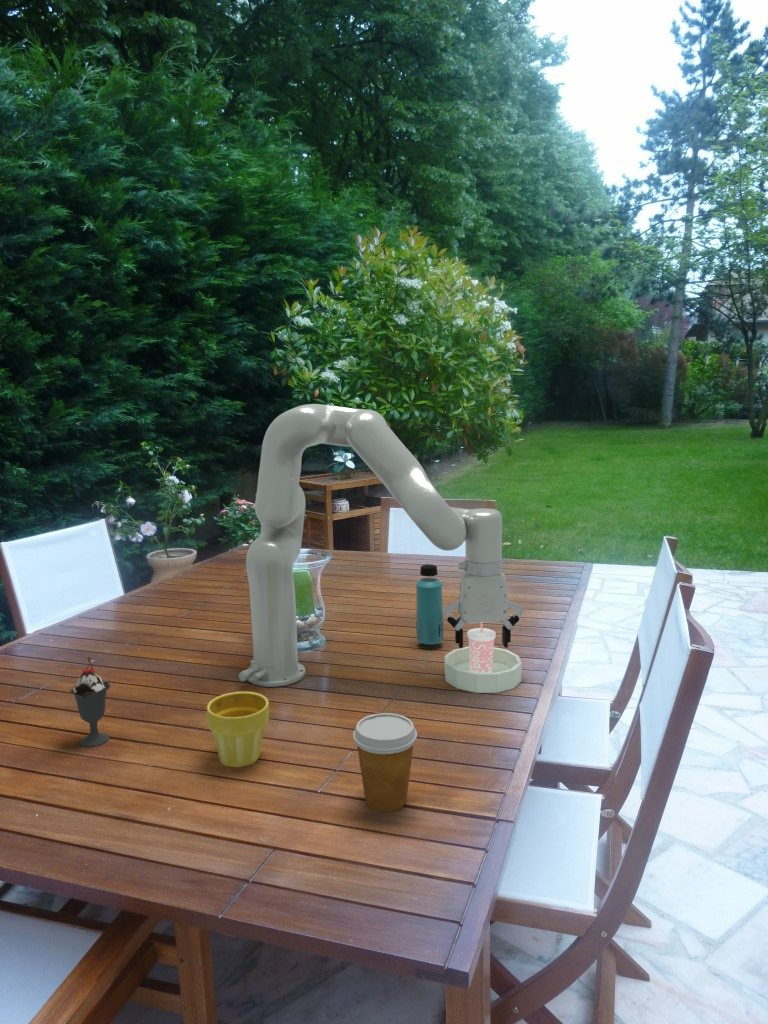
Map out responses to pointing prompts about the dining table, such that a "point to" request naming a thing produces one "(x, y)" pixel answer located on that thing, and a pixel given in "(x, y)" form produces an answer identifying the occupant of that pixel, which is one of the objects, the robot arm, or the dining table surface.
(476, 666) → the beverage cup
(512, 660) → the bowl
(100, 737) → the sundae
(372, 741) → the disposable coffee cup
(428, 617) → the beverage bottle
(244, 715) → the plant pot
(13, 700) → the dining table surface
